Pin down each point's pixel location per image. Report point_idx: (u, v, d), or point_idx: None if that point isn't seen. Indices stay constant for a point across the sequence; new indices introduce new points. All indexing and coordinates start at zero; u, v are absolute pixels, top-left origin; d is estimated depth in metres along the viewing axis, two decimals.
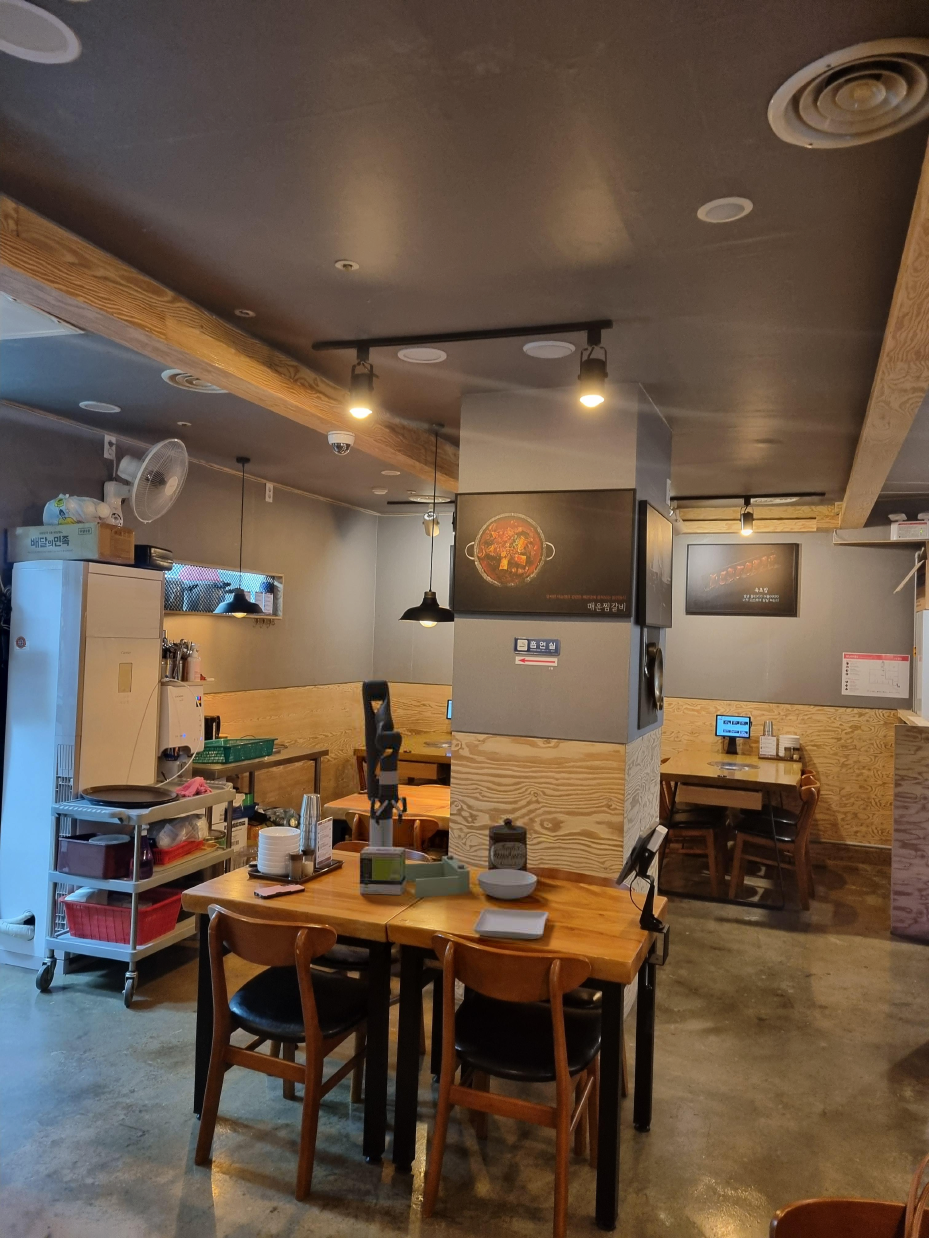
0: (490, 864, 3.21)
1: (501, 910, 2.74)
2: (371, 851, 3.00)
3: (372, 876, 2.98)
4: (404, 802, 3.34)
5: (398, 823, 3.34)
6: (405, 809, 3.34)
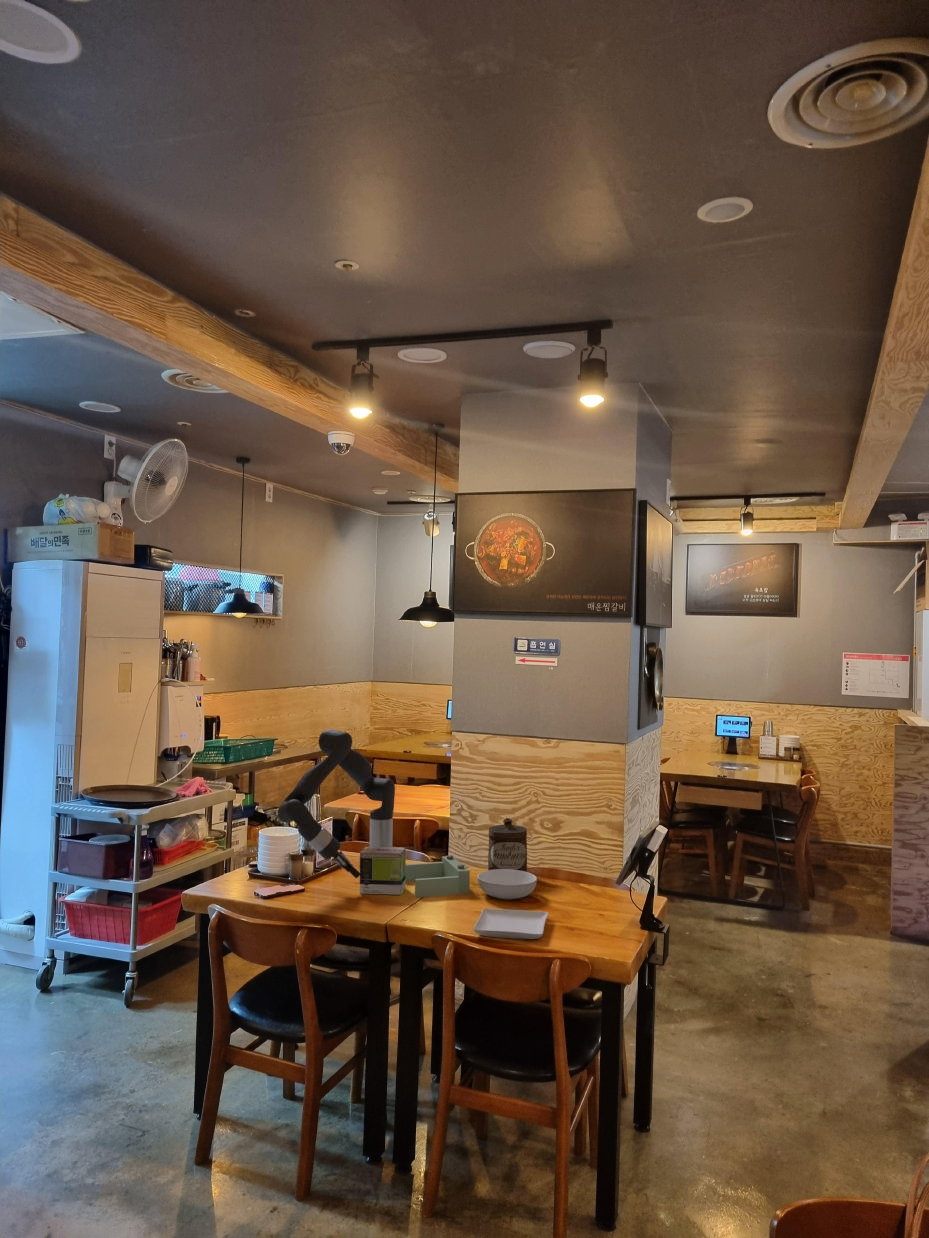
0: (490, 864, 3.21)
1: (501, 910, 2.74)
2: (371, 851, 3.00)
3: (372, 876, 2.98)
4: None
5: None
6: (346, 870, 2.96)
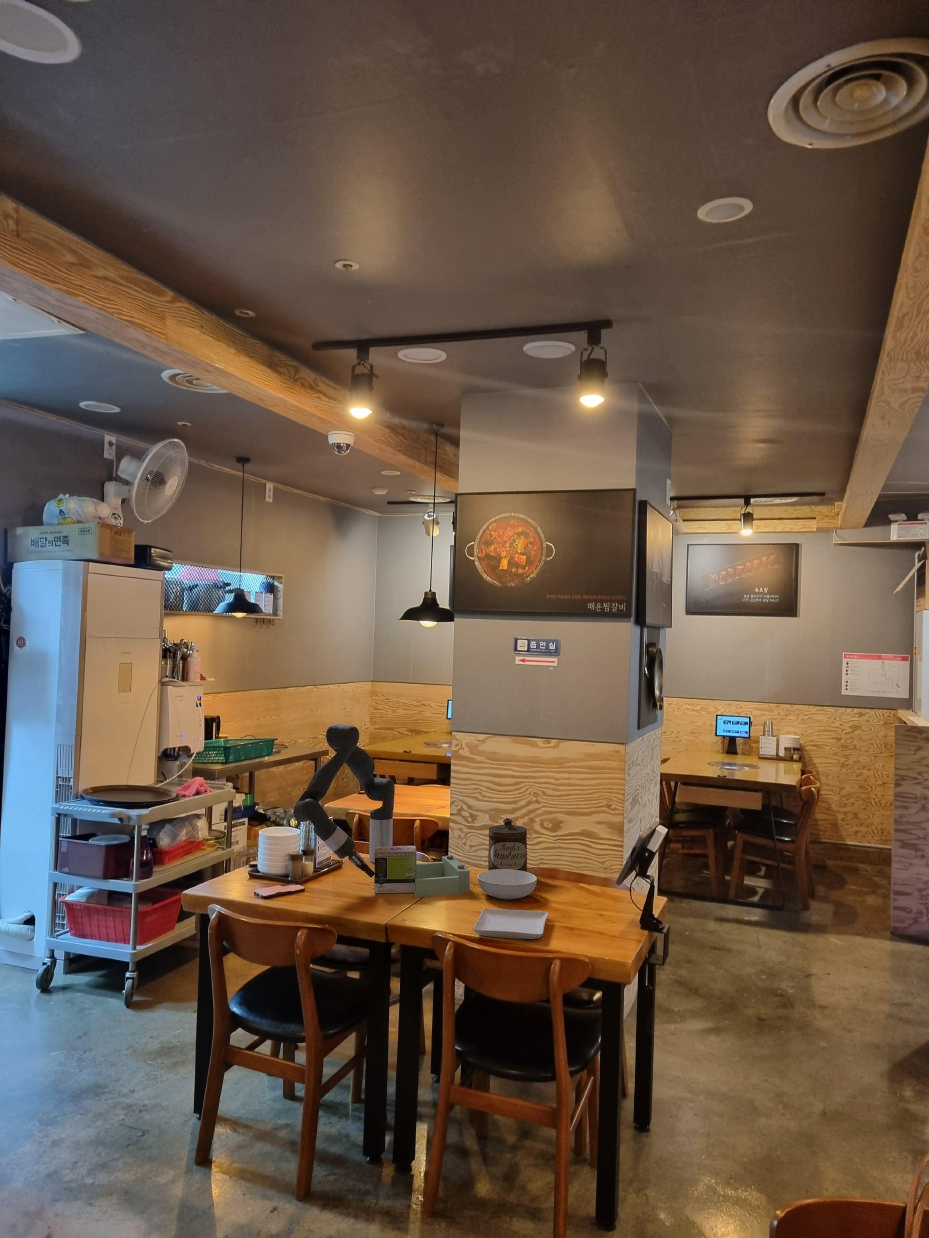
0: (490, 864, 3.21)
1: (501, 910, 2.74)
2: (385, 850, 3.01)
3: (387, 875, 2.99)
4: None
5: None
6: (361, 869, 2.98)
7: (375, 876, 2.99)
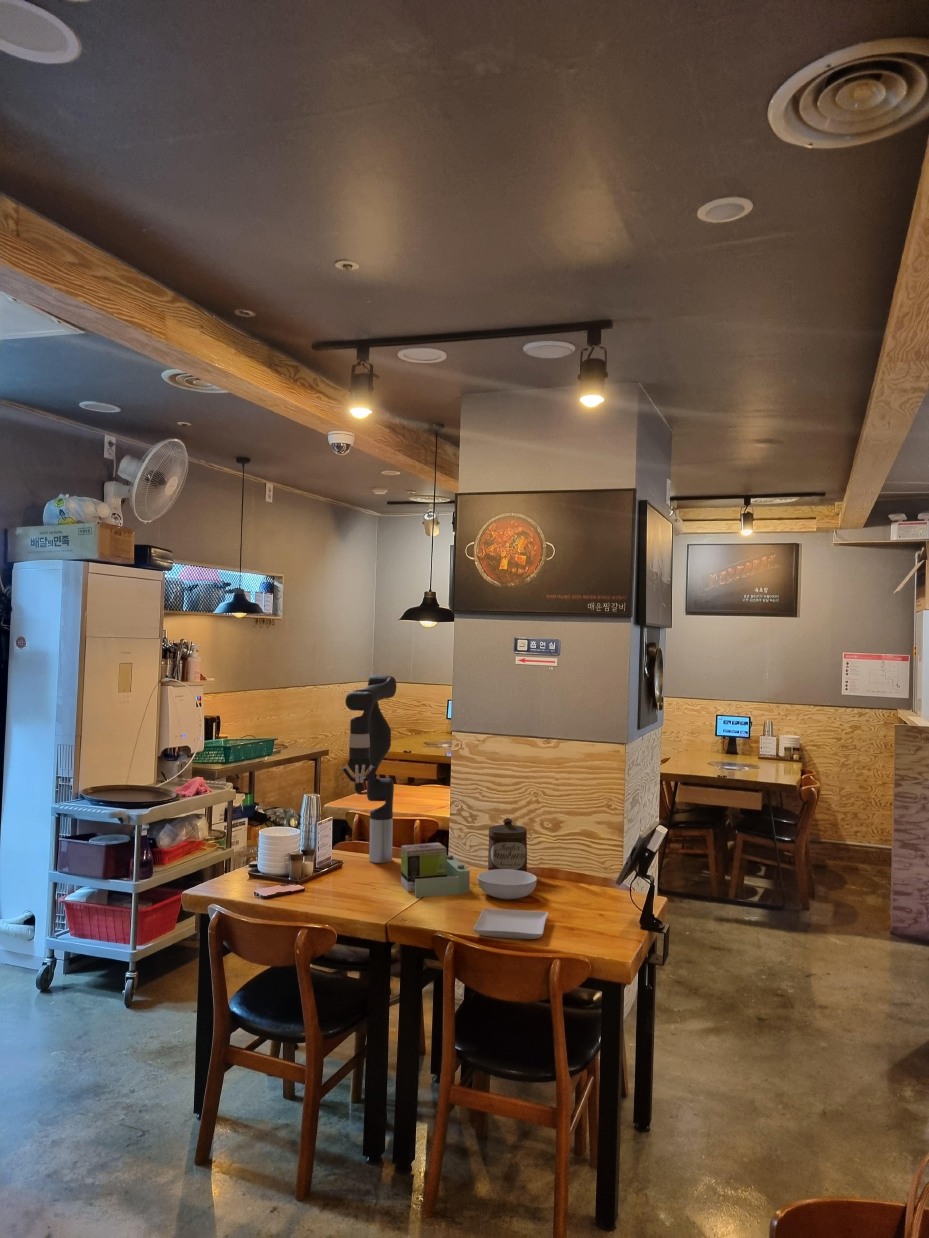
0: (490, 864, 3.21)
1: (501, 910, 2.74)
2: (416, 849, 3.05)
3: (420, 873, 3.03)
4: (371, 771, 3.14)
5: None
6: (367, 778, 3.13)
7: (408, 874, 3.02)
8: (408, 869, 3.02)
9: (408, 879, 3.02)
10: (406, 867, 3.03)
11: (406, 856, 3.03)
